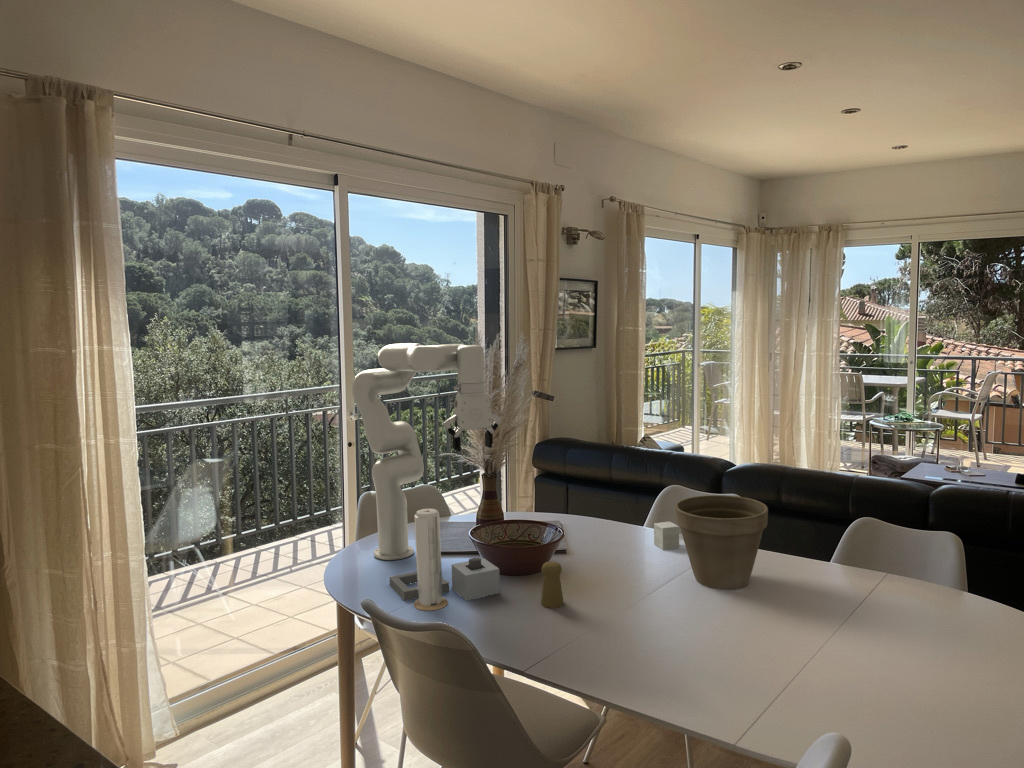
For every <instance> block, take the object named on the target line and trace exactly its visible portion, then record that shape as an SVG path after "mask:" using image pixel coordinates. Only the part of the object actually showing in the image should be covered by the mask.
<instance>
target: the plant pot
mask: <svg viewBox="0 0 1024 768" xmlns="http://www.w3.org/2000/svg"><path fill="white" fill-rule="evenodd" d="M674 510H675V512H674V513H675V522H676V525H677V526H679V529H680V532H681V535H682V539H683V542H684V545H685V550H686V553H687V557H688V559H689V562H690V566H691V570H692V573H693V576H694V579H695V581H697V583H698V584H700V585H702V586H704V587H707V588H710V589H717V590H736V589H741V588H743V587H745V586H747V585H748V584H749V583H750V579H751V576H752V572H753V569H754V565H755V561H756V558H757V555H758V551H759V547H760V543H761V540H762V536H763V532H764V530H765V529H766V528H768V527H767V526H768V522H769V521H768V518H769V507H768V506H767V504H765V503H764V502H761V501H760V500H756V499H753V498H750V497H743V496H739V495H738V496H737V495H736V496H735V495H724V494H722V495H721V494H716V495H715V494H711V495H709V494H707V495H697V496H691V497H690V496H689V497H686V498H683V499H680V500H679V501H677V502H676V503H675V505H674Z"/></svg>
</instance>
